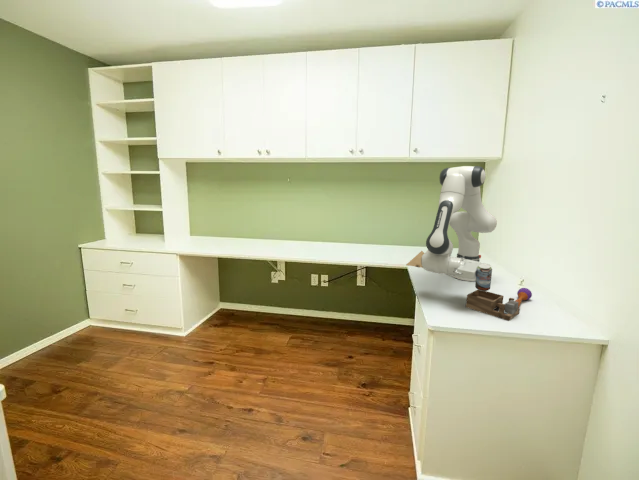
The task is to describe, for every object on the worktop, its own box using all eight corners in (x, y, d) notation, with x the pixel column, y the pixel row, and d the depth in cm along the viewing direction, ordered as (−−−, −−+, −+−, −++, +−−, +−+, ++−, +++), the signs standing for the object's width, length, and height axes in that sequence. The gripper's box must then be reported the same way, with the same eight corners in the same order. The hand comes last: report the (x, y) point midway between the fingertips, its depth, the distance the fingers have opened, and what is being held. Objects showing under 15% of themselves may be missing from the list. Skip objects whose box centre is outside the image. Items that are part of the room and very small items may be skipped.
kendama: (506, 298, 145) (518, 285, 159) (508, 311, 146) (519, 297, 160) (521, 300, 141) (532, 286, 155) (523, 312, 142) (533, 298, 155)
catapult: (477, 301, 152) (478, 289, 151) (519, 313, 138) (521, 300, 137) (465, 307, 144) (467, 294, 143) (508, 320, 131) (510, 307, 130)
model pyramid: (405, 265, 213) (406, 251, 212) (411, 260, 228) (412, 247, 226) (430, 269, 205) (431, 254, 203) (435, 264, 220) (436, 250, 218)
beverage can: (475, 292, 141) (476, 270, 135) (475, 282, 147) (476, 261, 141) (491, 294, 138) (492, 271, 133) (490, 283, 144) (492, 261, 138)
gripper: (452, 265, 139) (487, 271, 131) (461, 256, 156) (493, 261, 148) (450, 279, 140) (485, 285, 133) (460, 268, 157) (491, 274, 149)
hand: (489, 272), depth 140 cm, fingers closed on beverage can
